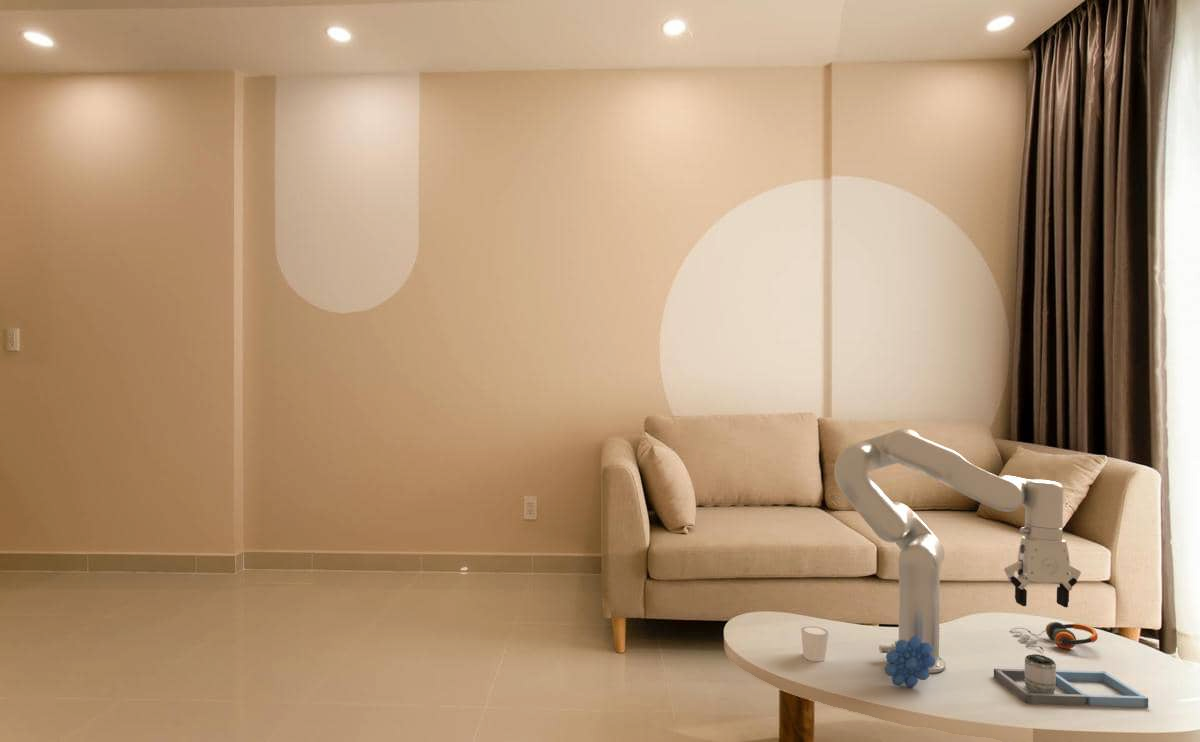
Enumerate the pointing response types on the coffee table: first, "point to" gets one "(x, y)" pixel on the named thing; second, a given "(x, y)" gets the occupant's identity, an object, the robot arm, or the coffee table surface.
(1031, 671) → the camera lens
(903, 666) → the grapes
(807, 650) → the shot glass
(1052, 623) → the headphones
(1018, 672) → the organizer
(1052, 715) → the coffee table surface
